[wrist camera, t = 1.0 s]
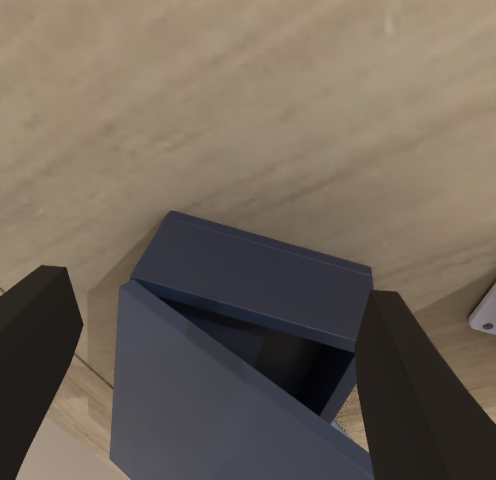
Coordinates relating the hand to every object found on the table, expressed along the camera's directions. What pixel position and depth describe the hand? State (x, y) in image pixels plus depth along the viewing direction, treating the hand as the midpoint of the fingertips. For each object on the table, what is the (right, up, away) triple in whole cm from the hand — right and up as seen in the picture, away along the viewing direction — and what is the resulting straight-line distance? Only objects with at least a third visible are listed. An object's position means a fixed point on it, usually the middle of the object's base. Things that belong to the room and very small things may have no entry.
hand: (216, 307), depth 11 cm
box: (0, -4, +18) cm, 19 cm away
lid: (-1, -9, +11) cm, 15 cm away
